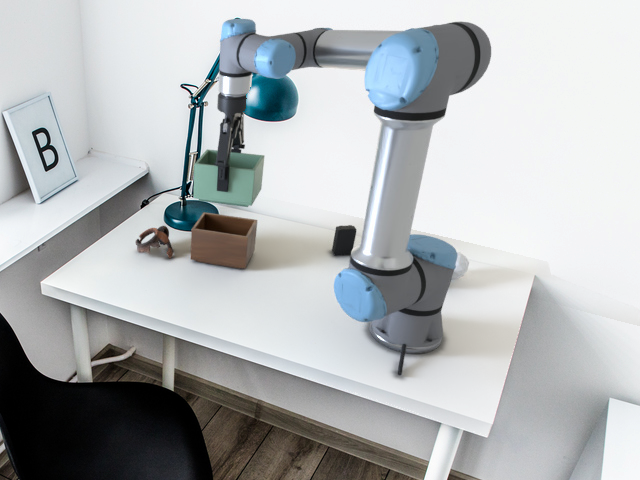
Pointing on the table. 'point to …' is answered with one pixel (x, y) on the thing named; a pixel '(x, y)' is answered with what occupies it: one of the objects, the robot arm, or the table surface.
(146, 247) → the brown headphones
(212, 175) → the box
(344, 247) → the ink cartridge
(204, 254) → the bottom basket
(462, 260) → the puffin
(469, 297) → the table surface
